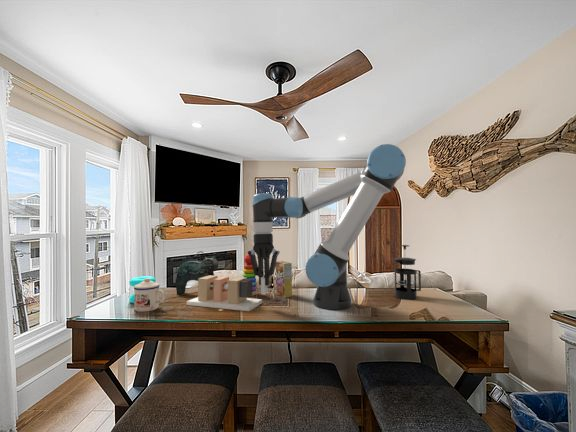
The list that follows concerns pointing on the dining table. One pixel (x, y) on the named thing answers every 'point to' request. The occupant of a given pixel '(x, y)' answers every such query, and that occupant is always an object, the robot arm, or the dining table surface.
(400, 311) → the dining table surface
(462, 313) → the dining table surface
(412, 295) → the french press
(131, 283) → the donuts
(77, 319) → the dining table surface
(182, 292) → the dark teal curved piece
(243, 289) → the shaft
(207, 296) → the shaft bracket
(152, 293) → the teacup with lid
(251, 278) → the stacking toy
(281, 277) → the candy box
